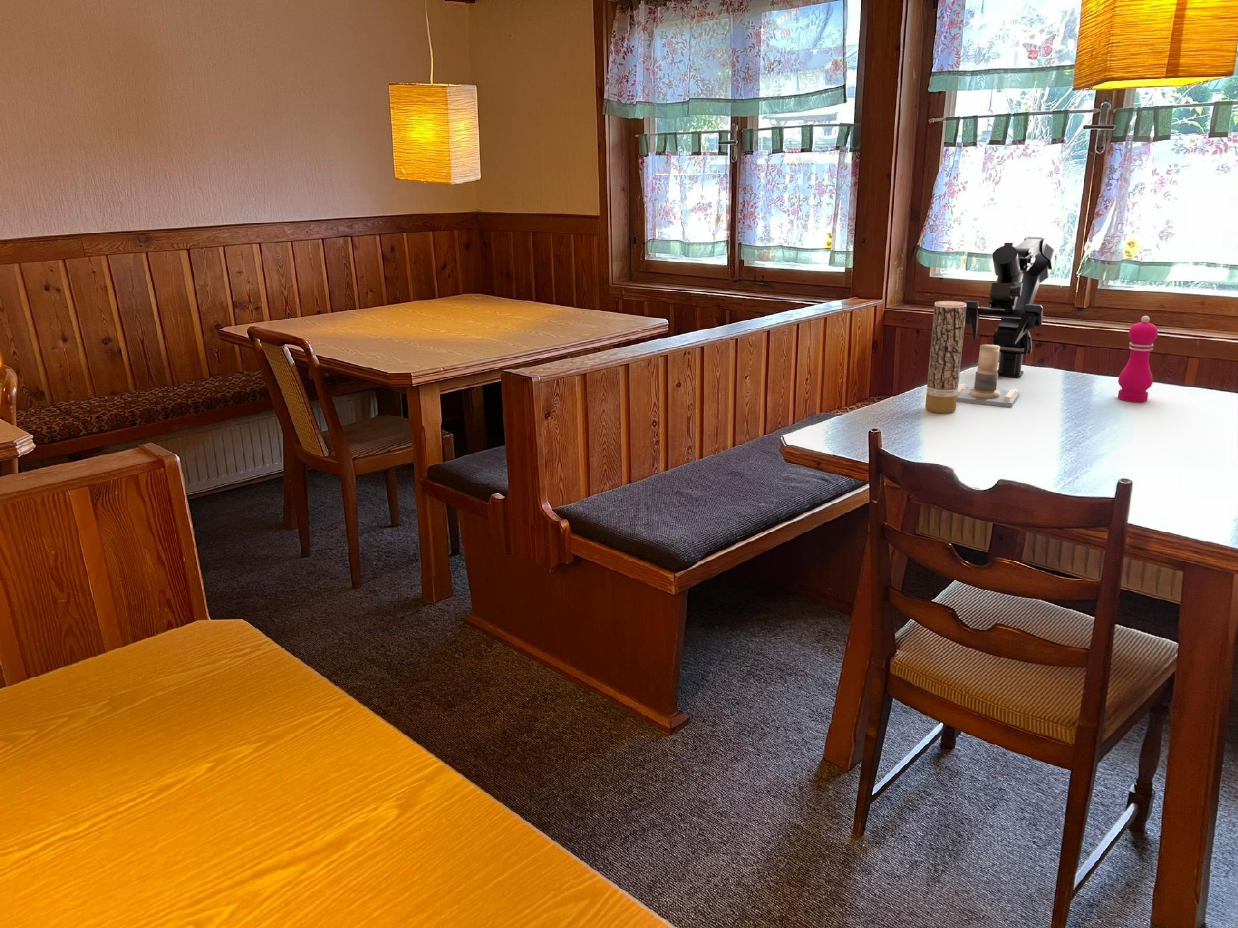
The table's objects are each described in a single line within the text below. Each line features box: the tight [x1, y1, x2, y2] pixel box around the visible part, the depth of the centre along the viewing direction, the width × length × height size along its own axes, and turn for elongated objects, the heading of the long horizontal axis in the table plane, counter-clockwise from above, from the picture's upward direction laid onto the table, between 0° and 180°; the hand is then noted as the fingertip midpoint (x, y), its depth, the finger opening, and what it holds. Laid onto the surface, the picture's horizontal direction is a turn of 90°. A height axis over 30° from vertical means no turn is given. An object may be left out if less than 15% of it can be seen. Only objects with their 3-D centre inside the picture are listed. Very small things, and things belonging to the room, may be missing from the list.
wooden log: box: [925, 300, 966, 414], centre depth 208 cm, size 7×7×25 cm
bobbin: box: [970, 344, 1000, 398], centre depth 219 cm, size 7×7×12 cm
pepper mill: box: [1117, 315, 1159, 403], centre depth 215 cm, size 7×7×20 cm
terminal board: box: [957, 383, 1021, 408], centre depth 221 cm, size 12×14×2 cm
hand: (994, 341), depth 221 cm, fingers open, 9 cm apart
